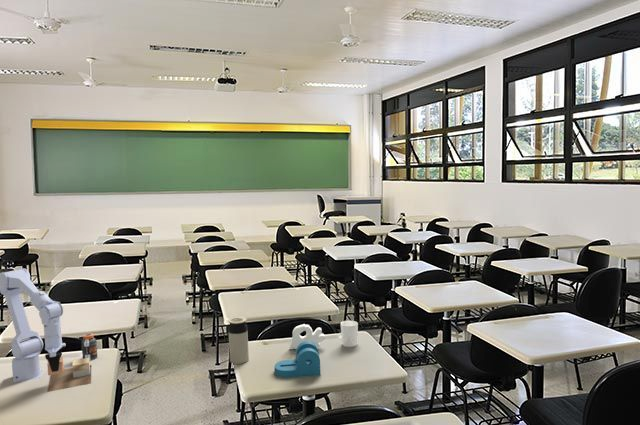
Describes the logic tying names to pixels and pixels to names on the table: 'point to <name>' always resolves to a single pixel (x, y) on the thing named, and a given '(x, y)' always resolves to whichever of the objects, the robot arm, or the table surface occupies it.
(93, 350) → the pill bottle
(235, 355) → the travel mug
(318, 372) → the camera mount
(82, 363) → the slab top
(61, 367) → the block
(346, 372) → the table surface
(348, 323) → the white cup
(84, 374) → the slab bottom
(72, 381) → the board
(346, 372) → the table surface
